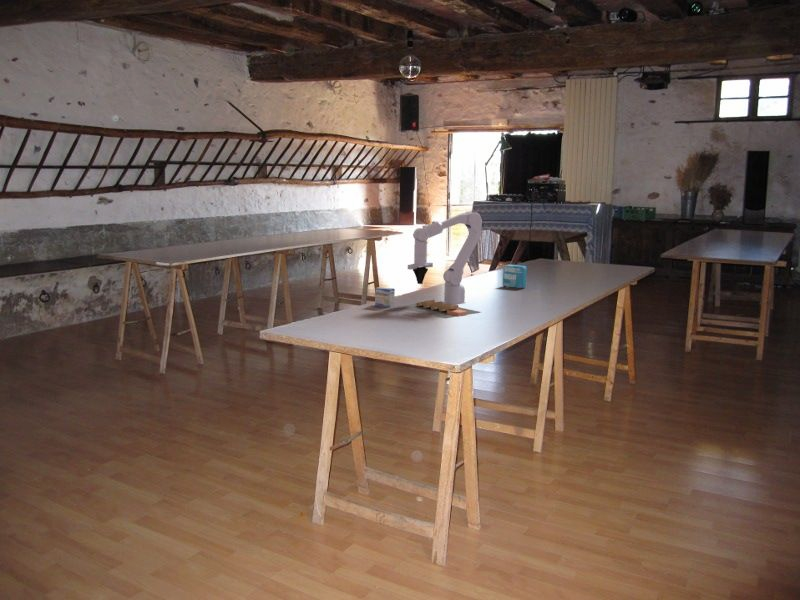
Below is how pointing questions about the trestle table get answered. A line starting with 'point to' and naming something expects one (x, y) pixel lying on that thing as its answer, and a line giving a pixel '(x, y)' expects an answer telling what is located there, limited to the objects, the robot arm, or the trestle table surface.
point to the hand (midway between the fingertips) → (420, 283)
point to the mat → (435, 311)
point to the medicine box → (384, 297)
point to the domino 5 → (456, 312)
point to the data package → (514, 276)
